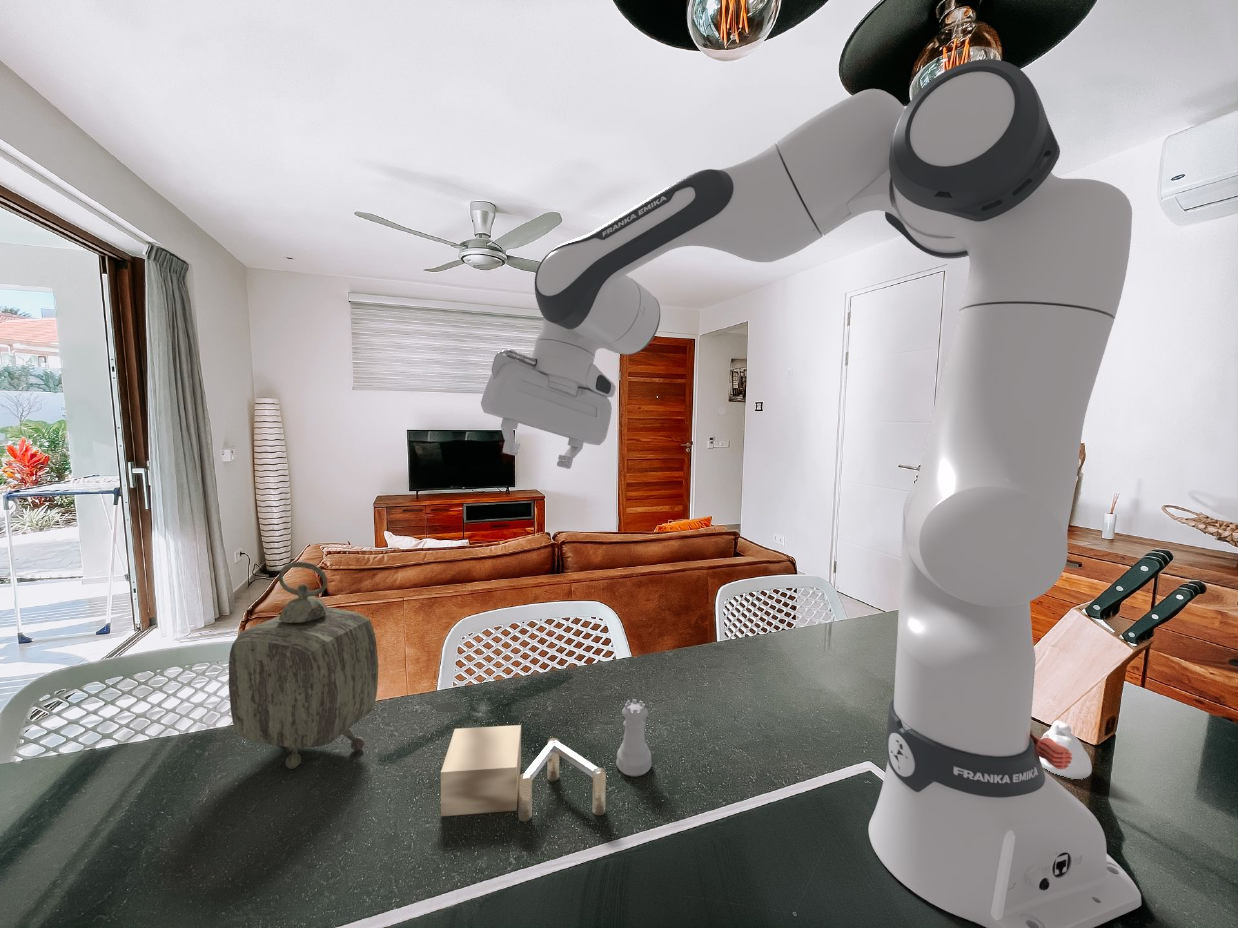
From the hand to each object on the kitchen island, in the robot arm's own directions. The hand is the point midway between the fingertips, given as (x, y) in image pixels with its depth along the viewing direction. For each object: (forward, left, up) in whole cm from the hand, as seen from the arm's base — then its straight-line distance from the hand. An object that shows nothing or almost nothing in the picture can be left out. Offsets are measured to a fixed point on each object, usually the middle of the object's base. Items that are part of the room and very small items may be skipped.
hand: (537, 461), depth 75 cm
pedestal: (+6, +17, -37) cm, 41 cm away
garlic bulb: (-66, +21, -37) cm, 79 cm away
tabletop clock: (+28, +9, -37) cm, 48 cm away
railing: (-3, +19, -37) cm, 42 cm away
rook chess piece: (-12, +15, -37) cm, 42 cm away
